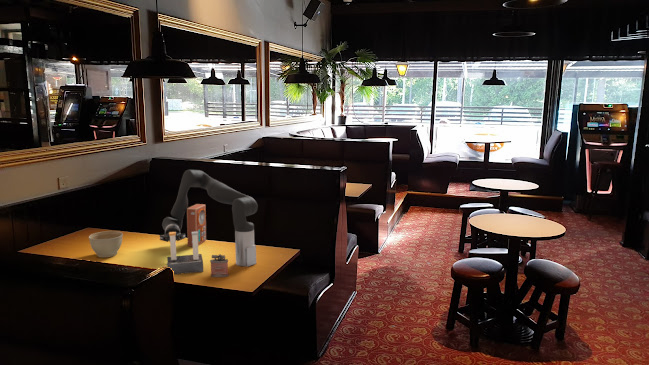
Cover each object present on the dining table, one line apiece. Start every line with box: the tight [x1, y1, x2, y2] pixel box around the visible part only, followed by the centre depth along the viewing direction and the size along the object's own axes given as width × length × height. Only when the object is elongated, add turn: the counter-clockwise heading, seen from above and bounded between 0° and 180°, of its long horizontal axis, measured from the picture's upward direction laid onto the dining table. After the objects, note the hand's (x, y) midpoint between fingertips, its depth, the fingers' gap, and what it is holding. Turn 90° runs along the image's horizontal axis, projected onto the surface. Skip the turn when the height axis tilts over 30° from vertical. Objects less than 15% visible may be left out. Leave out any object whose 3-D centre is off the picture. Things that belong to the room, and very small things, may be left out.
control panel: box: [186, 203, 207, 247], centre depth 271 cm, size 21×7×15 cm
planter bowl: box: [88, 230, 124, 258], centre depth 251 cm, size 16×16×11 cm
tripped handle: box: [169, 232, 177, 260], centre depth 227 cm, size 3×3×13 cm
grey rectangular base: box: [166, 253, 204, 275], centre depth 230 cm, size 12×16×5 cm
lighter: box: [209, 254, 230, 278], centre depth 221 cm, size 8×3×10 cm, turn 92°
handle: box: [192, 231, 200, 260], centre depth 227 cm, size 3×3×13 cm
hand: (172, 241), depth 237 cm, fingers closed
